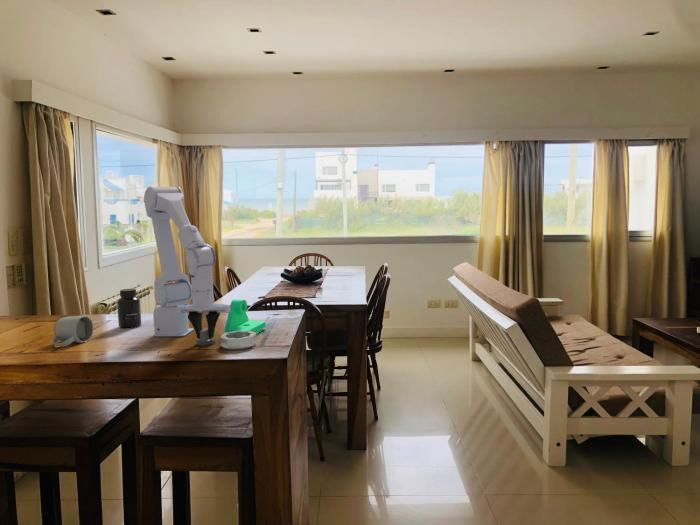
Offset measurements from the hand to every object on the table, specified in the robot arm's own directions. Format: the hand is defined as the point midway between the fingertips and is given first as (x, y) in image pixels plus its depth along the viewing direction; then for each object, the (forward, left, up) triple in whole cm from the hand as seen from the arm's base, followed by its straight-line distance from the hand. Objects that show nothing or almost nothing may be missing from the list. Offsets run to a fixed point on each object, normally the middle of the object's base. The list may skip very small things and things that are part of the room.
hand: (205, 337), depth 153 cm
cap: (0, 0, -2) cm, 2 cm away
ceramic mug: (-40, +1, -2) cm, 40 cm away
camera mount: (+9, +11, -2) cm, 14 cm away
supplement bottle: (-32, +20, -2) cm, 38 cm away
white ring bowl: (+10, -2, -2) cm, 10 cm away
